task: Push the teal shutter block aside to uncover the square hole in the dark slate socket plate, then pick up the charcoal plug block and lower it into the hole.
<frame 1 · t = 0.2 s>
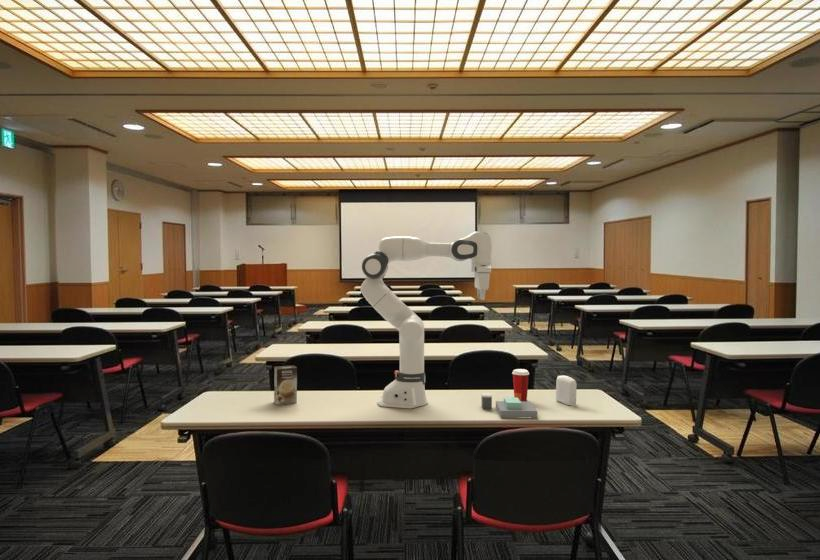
hand: (481, 299, 222), 47 cm above the table, tool pointing down, fingers open, 8 cm apart
paper cup: (520, 401, 229), on the table
socket: (512, 412, 211), on the table
plug: (486, 407, 218), on the table
coffee box: (285, 402, 225), on the table
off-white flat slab: (565, 403, 226), on the table
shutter: (512, 402, 211), point 4 cm above the table, slide at 0.0 cm
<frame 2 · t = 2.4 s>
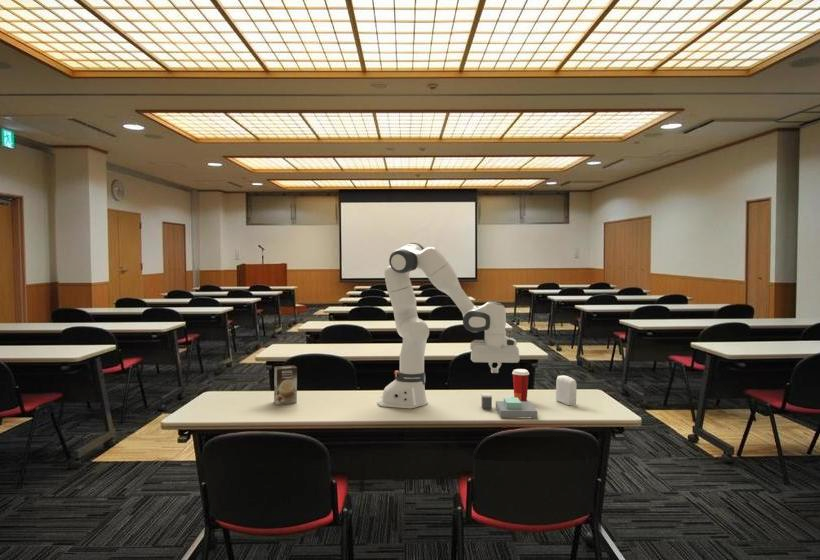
hand: (494, 372, 210), 17 cm above the table, tool pointing down, fingers closed
nothing on the table moved.
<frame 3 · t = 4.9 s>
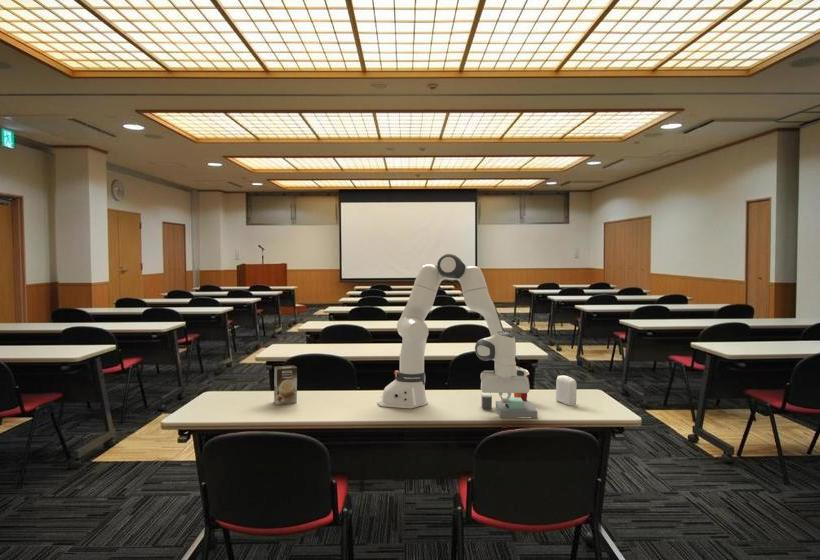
hand: (504, 402, 211), 4 cm above the table, tool pointing down, fingers closed
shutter: (515, 403, 211), point 4 cm above the table, slide at 1.3 cm, touching gripper
everything else where it was.
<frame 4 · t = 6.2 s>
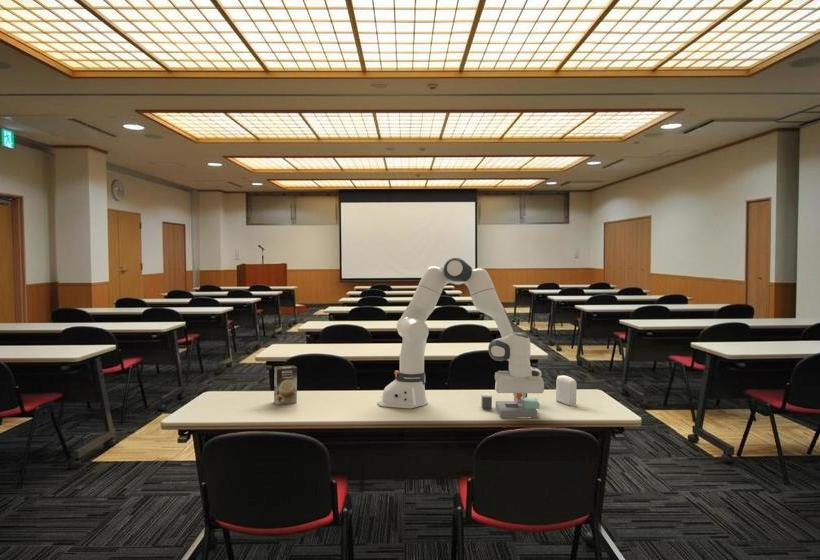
hand: (519, 403, 210), 4 cm above the table, tool pointing down, fingers closed
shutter: (529, 403, 210), point 4 cm above the table, slide at 7.4 cm, touching gripper
everything else where it was.
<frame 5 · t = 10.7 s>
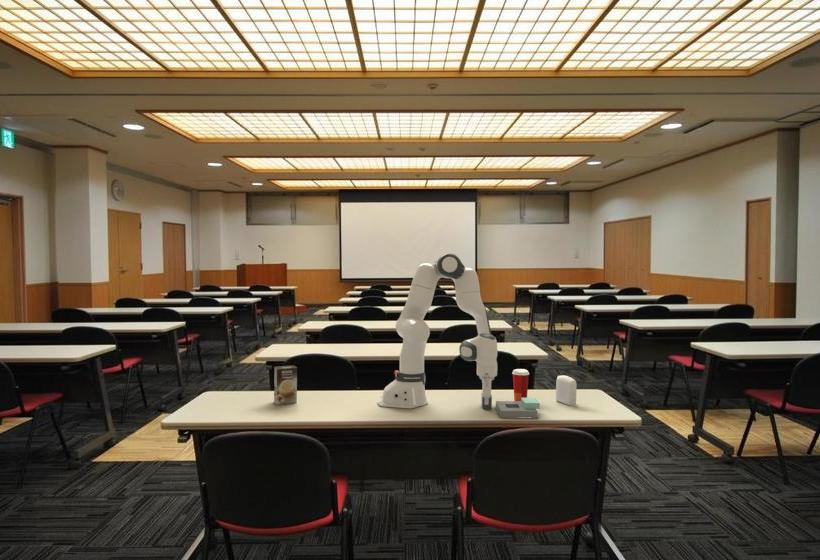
hand: (486, 402, 218), 2 cm above the table, tool pointing down, fingers closed on plug, 4 cm apart
plug: (486, 407, 218), on the table, touching gripper
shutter: (530, 403, 210), point 4 cm above the table, slide at 7.5 cm
everything else where it was.
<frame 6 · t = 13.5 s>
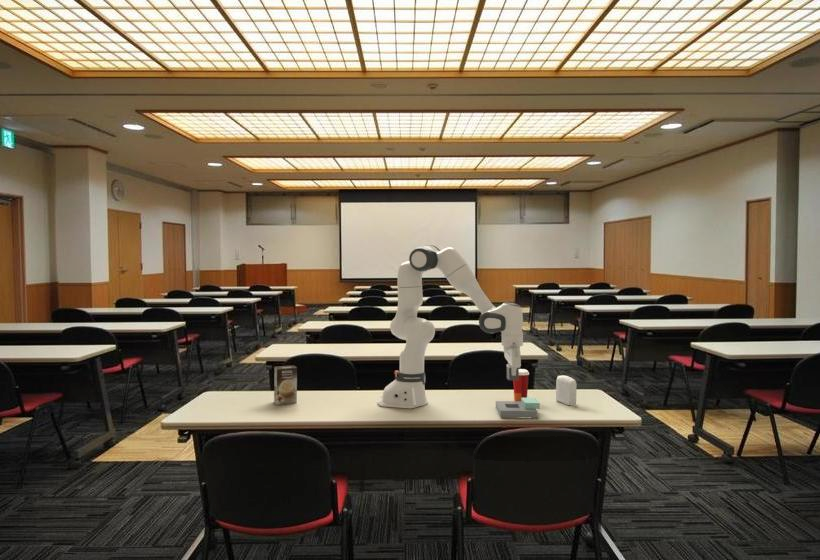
hand: (512, 373, 210), 17 cm above the table, tool pointing down, fingers closed on plug, 4 cm apart
plug: (512, 379, 210), point 14 cm above the table, touching gripper
everything else where it was.
when the fingers open (4 cm above the table, at t = 16.2 s): plug drops 2 cm, resting in socket.
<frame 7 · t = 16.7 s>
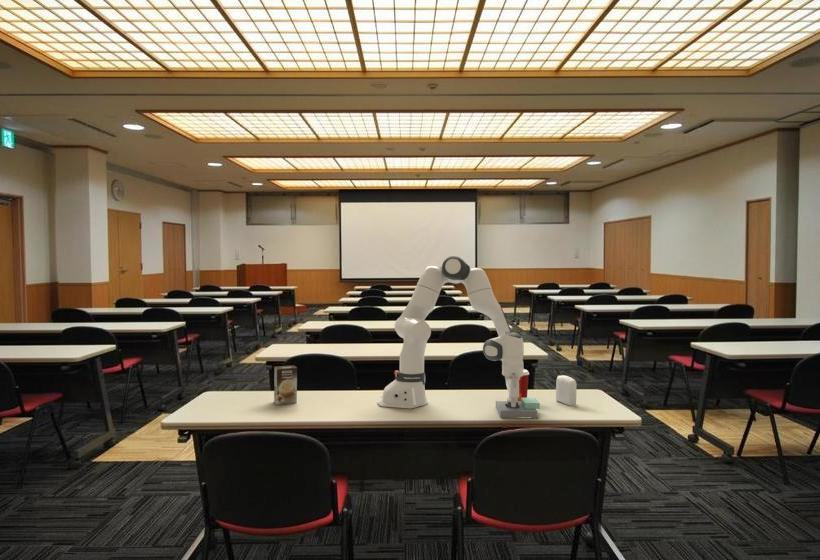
hand: (512, 403, 211), 4 cm above the table, tool pointing down, fingers open, 8 cm apart
plug: (512, 413, 211), resting in socket
everything else where it was.
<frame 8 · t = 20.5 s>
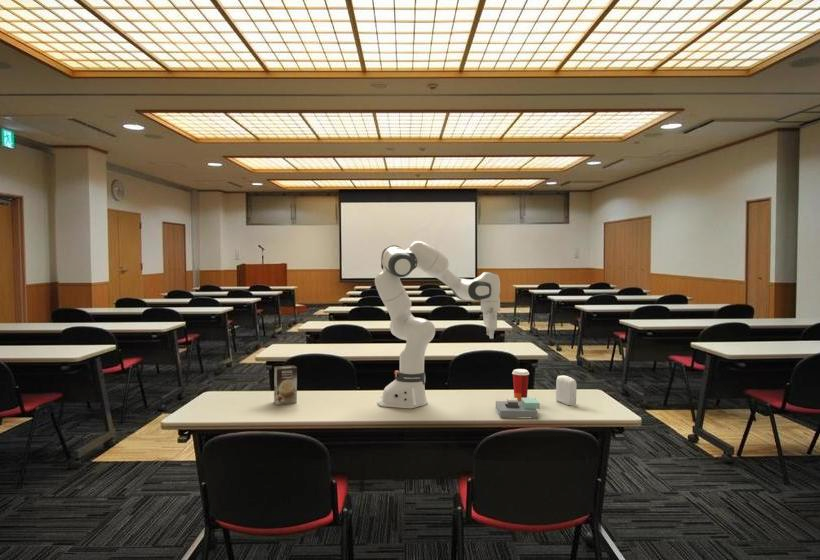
hand: (490, 336, 231), 29 cm above the table, tool pointing down, fingers open, 8 cm apart
nothing on the table moved.
at the end: plug 0.1 cm off-centre on the socket, point 0.0 cm above the socket's base; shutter slide at 7.5 cm; plug tilted 0° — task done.
